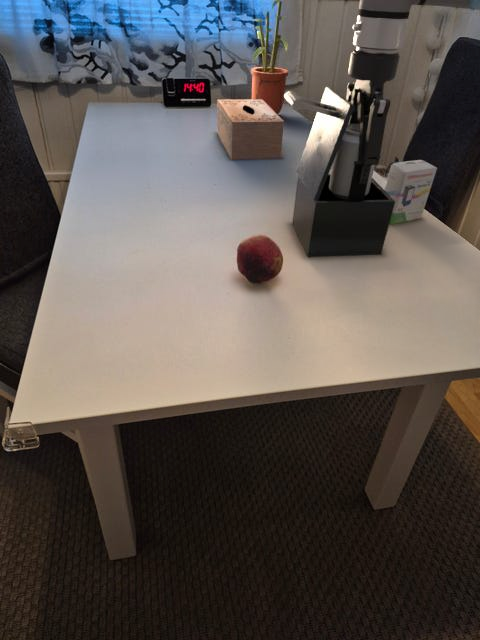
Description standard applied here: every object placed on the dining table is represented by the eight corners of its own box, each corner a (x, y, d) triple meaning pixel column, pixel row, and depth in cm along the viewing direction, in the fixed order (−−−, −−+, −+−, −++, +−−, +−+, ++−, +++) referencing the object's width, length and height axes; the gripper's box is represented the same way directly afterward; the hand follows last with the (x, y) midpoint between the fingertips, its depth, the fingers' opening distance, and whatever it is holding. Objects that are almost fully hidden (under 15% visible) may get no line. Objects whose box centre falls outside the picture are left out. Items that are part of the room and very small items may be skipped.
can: (369, 203, 81) (384, 134, 73) (327, 199, 82) (338, 130, 74) (367, 188, 87) (381, 123, 79) (328, 184, 88) (339, 119, 80)
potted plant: (291, 116, 165) (303, 0, 143) (264, 123, 156) (271, 1, 134) (256, 107, 174) (262, -3, 153) (228, 113, 165) (230, -3, 144)
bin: (357, 223, 96) (368, 173, 89) (381, 254, 86) (395, 201, 79) (292, 224, 94) (298, 174, 88) (307, 257, 84) (315, 202, 77)
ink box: (406, 210, 102) (421, 158, 95) (422, 219, 99) (438, 166, 91) (376, 215, 99) (389, 162, 92) (391, 225, 96) (406, 171, 89)
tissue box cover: (280, 158, 128) (284, 121, 121) (231, 159, 125) (232, 122, 119) (260, 132, 147) (262, 99, 141) (217, 133, 145) (217, 99, 139)
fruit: (283, 272, 79) (288, 231, 74) (276, 296, 73) (281, 253, 68) (241, 265, 80) (242, 225, 76) (230, 288, 75) (232, 246, 70)
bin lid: (330, 87, 79) (284, 74, 76) (355, 106, 68) (303, 91, 66) (300, 172, 88) (258, 162, 85) (318, 200, 77) (271, 190, 75)
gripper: (334, 40, 77) (315, 171, 91) (377, 59, 61) (346, 214, 75) (375, 41, 78) (350, 171, 92) (428, 61, 62) (388, 213, 76)
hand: (348, 190), depth 84 cm, fingers closed on can, 7 cm apart
